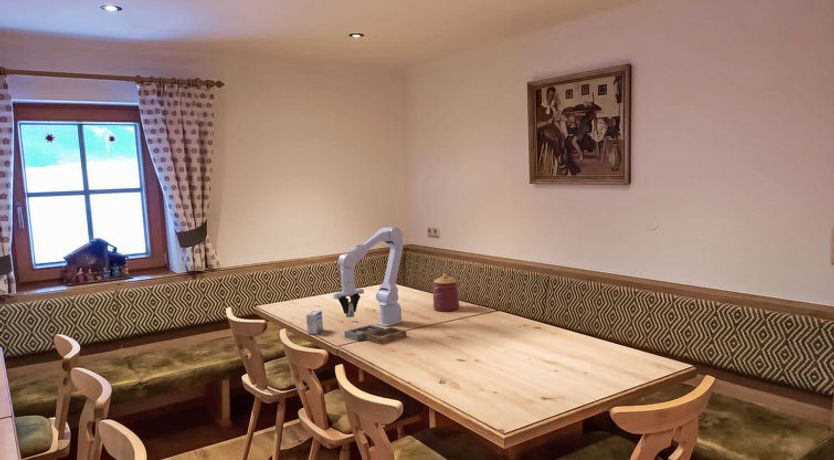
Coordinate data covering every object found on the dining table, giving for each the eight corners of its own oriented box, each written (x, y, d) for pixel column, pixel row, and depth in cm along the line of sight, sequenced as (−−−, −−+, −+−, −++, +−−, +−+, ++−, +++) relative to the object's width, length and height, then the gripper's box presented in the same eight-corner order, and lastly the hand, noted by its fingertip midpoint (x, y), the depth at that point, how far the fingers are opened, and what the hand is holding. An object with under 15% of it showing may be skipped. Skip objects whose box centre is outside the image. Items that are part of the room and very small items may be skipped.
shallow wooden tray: (392, 332, 259) (391, 326, 259) (406, 336, 251) (406, 331, 251) (365, 339, 250) (364, 333, 250) (379, 344, 242) (378, 338, 242)
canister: (464, 307, 299) (462, 272, 297) (451, 313, 288) (450, 277, 286) (441, 305, 306) (440, 270, 304) (428, 310, 295) (426, 275, 293)
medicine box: (316, 334, 261) (315, 315, 261) (307, 334, 262) (306, 314, 261) (323, 329, 269) (322, 310, 268) (313, 329, 270) (312, 310, 269)
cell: (351, 314, 264) (350, 300, 263) (355, 316, 261) (355, 301, 260) (344, 316, 262) (343, 301, 261) (348, 317, 259) (348, 302, 258)
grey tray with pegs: (371, 329, 265) (371, 323, 264) (384, 333, 257) (383, 326, 257) (344, 336, 256) (344, 329, 255) (357, 340, 248) (356, 333, 248)
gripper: (356, 278, 267) (358, 307, 269) (328, 283, 258) (330, 314, 260) (365, 279, 262) (367, 310, 263) (337, 285, 253) (339, 316, 254)
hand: (349, 312), depth 261 cm, fingers closed on cell, 4 cm apart
